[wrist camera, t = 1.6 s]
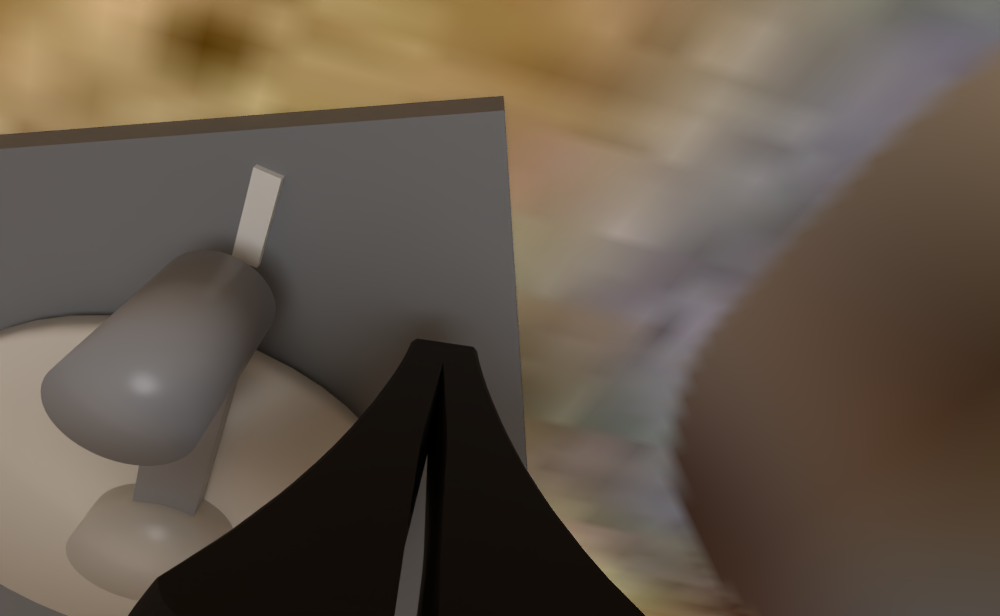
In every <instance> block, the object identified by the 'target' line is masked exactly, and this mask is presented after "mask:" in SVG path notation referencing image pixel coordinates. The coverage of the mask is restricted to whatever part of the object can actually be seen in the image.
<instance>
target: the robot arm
mask: <svg viewBox="0 0 1000 616" xmlns="http://www.w3.org/2000/svg"><path fill="white" fill-rule="evenodd" d="M426 458H427V476H426V503H425V530H424V554H423V567H422V577H421V585H420V593H419V601H418V609H417V616H645V615H644V614H643V613H642V612H641V611H640V610H639V609H638V608H637V607H636V606H635V605H634V604H633V603H632V602H631V601H630V600H629V599H628V598H627V597H626V596H625V595H624V594H623V593H622V592H621V591H620V590H619V589H618V588H617V587H616V586H615V585H614V584H613V583H612V582H611V581H610V580H609V579H608V577H607V576H606V575H605V574H604V573H603V572H602V571H601V569H600V568H599V567H598V566H597V565H596V564H595V563H594V561H593V560H592V559H591V558H590V557H589V556H588V554H587V553H586V552H585V551H584V550H583V548H582V547H581V546H580V545H579V543H578V542H577V541H576V539H575V538H574V537H573V535H572V534H571V533H570V532H569V530H568V529H567V528H566V526H565V525H564V524H563V523H562V521H561V520H560V519H559V517H558V516H557V515H556V514H555V512H554V511H553V509H552V508H551V507H550V505H549V504H548V502H547V501H546V499H545V498H544V496H543V495H542V493H541V492H540V490H539V489H538V487H537V486H536V484H535V482H534V481H533V479H532V478H531V476H530V474H529V473H528V471H527V470H526V468H525V466H524V464H523V463H522V461H521V459H520V457H519V455H518V454H517V452H516V450H515V448H514V446H513V444H512V442H511V440H510V438H509V436H508V434H507V432H506V430H505V428H504V426H503V424H502V422H501V419H500V417H499V415H498V412H497V410H496V408H495V405H494V403H493V401H492V398H491V396H490V393H489V390H488V388H487V385H486V382H485V379H484V376H483V373H482V370H481V366H480V362H479V358H478V353H477V351H476V350H475V348H474V347H471V346H465V345H458V344H451V343H444V342H438V341H431V340H424V339H415V340H414V341H412V342H411V344H410V346H409V349H408V351H407V352H406V354H405V356H404V358H403V360H402V361H401V363H400V365H399V366H398V368H397V369H396V371H395V372H394V374H393V375H392V377H391V378H390V380H389V381H388V382H387V384H386V385H385V386H384V388H383V389H382V391H381V392H380V393H379V395H378V396H377V397H376V399H375V400H374V401H373V402H372V404H371V405H370V406H369V407H368V408H367V409H366V411H365V412H364V413H363V414H362V415H361V416H360V418H359V419H358V420H357V421H356V422H355V423H354V424H353V426H352V427H351V428H350V429H349V430H348V431H347V432H346V433H345V434H344V435H343V436H342V437H341V438H340V439H339V441H338V442H337V443H336V444H335V445H334V446H333V447H332V448H330V449H329V450H328V451H327V452H326V453H325V454H324V455H323V456H322V457H321V458H320V459H319V460H318V461H317V462H316V463H315V464H314V465H312V466H311V467H310V468H309V469H308V470H307V471H306V472H304V473H303V474H302V475H301V476H300V477H299V478H298V479H296V480H295V481H294V482H293V483H292V484H291V485H289V486H288V487H287V488H286V489H285V490H283V491H282V492H281V493H280V494H278V495H277V496H276V497H275V498H273V499H272V500H271V501H269V502H268V503H267V504H265V505H264V506H263V507H261V508H260V509H258V510H257V511H256V512H254V513H253V514H252V515H250V516H249V517H248V518H246V519H245V520H244V521H242V522H241V523H240V524H238V525H237V526H236V527H234V528H233V529H231V530H230V531H229V532H227V533H226V534H224V535H223V536H221V537H220V538H218V539H217V540H215V541H214V542H212V543H211V544H209V545H207V546H206V547H204V548H203V549H201V550H200V551H198V552H196V553H195V554H193V555H192V556H190V557H189V558H187V559H186V560H184V561H182V562H181V563H179V564H178V565H176V566H175V567H173V568H171V569H170V570H168V571H167V572H165V573H163V574H162V575H160V576H159V577H157V578H156V579H155V580H154V582H153V583H152V584H151V585H150V587H149V588H148V589H147V590H146V592H145V593H144V594H143V596H142V597H141V598H140V599H139V601H138V602H137V603H136V605H135V606H134V607H133V609H132V610H131V612H130V613H129V615H128V616H395V609H396V602H397V595H398V589H399V582H400V575H401V568H402V562H403V555H404V548H405V544H406V540H407V536H408V532H409V528H410V523H411V519H412V515H413V511H414V507H415V503H416V499H417V495H418V491H419V487H420V483H421V478H422V474H423V470H424V466H425V462H426Z"/></svg>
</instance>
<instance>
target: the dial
mask: <svg viewBox="0 0 1000 616" xmlns="http://www.w3.org/2000/svg"><path fill="white" fill-rule="evenodd" d="M275 315H276V304H275V299H274V295H273V293H272V291H271V289H270V287H269V285H268V284H267V282H266V281H265V280H264V278H263V277H262V276H261V275H260V274H259V273H258V272H257V271H256V270H255V269H254V268H252V267H251V266H250V265H248V264H247V263H245V262H244V261H242V260H240V259H238V258H236V257H234V256H232V255H229V254H226V253H223V252H218V251H212V250H195V251H190V252H186V253H184V254H181V255H179V256H178V257H176V258H175V259H173V260H172V261H171V262H170V263H169V264H168V265H167V266H165V267H164V268H163V269H162V270H161V271H160V272H159V273H158V274H157V275H155V276H154V277H153V278H152V279H151V280H150V281H149V282H148V283H147V284H145V285H144V286H143V287H142V288H141V289H140V290H139V291H138V292H136V293H135V294H134V295H133V296H132V297H131V298H130V299H129V300H128V301H126V302H125V303H124V304H123V305H122V306H121V307H120V308H119V309H118V310H116V311H115V312H114V313H113V314H112V315H84V316H65V317H57V318H49V319H41V320H35V321H31V322H28V323H24V324H20V325H16V326H12V327H9V328H5V329H3V330H1V331H0V584H1V585H3V586H5V587H6V588H8V589H10V590H12V591H14V592H16V593H18V594H20V595H22V596H24V597H26V598H28V599H30V600H32V601H34V602H36V603H38V604H41V605H43V606H45V607H48V608H50V609H52V610H55V611H57V612H59V613H62V614H65V615H68V616H128V615H129V613H130V612H131V610H132V609H133V607H134V606H135V605H136V603H137V602H138V601H139V599H140V598H141V597H142V596H143V594H144V593H145V592H146V590H147V589H148V588H149V587H150V585H151V584H152V583H153V582H154V580H155V579H156V578H157V577H159V576H160V575H162V574H163V573H165V572H167V571H168V570H170V569H171V568H173V567H175V566H176V565H178V564H179V563H181V562H182V561H184V560H186V559H187V558H189V557H190V556H192V555H193V554H195V553H196V552H198V551H200V550H201V549H203V548H204V547H206V546H207V545H209V544H211V543H212V542H214V541H215V540H217V539H218V538H220V537H221V536H223V535H224V534H226V533H227V532H229V531H230V530H231V529H233V528H234V527H236V526H237V525H238V524H240V523H241V522H242V521H244V520H245V519H246V518H248V517H249V516H250V515H252V514H253V513H254V512H256V511H257V510H258V509H260V508H261V507H263V506H264V505H265V504H267V503H268V502H269V501H271V500H272V499H273V498H275V497H276V496H277V495H278V494H280V493H281V492H282V491H283V490H285V489H286V488H287V487H288V486H289V485H291V484H292V483H293V482H294V481H295V480H296V479H298V478H299V477H300V476H301V475H302V474H303V473H304V472H306V471H307V470H308V469H309V468H310V467H311V466H312V465H314V464H315V463H316V462H317V461H318V460H319V459H320V458H321V457H322V456H323V455H324V454H325V453H326V452H327V451H328V450H329V449H330V448H332V447H333V446H334V445H335V444H336V443H337V442H338V441H339V439H340V438H341V437H342V436H343V435H344V434H345V433H346V432H347V431H348V430H349V429H350V428H351V427H352V426H353V424H354V423H355V422H356V421H357V420H358V419H359V418H358V417H357V416H356V415H355V414H354V413H353V412H352V411H351V410H350V409H349V408H348V407H347V406H345V405H344V404H343V403H342V402H340V401H339V400H338V399H337V398H335V397H334V396H333V395H332V394H330V393H329V392H328V391H326V390H325V389H324V388H323V387H321V386H320V385H318V384H317V383H315V382H314V381H312V380H310V379H309V378H307V377H306V376H304V375H303V374H301V373H299V372H298V371H296V370H295V369H293V368H291V367H289V366H287V365H285V364H284V363H282V362H280V361H278V360H276V359H274V358H272V357H270V356H268V355H266V354H264V353H262V352H260V351H257V350H256V349H257V348H258V346H259V345H260V343H261V342H262V340H263V338H264V337H265V335H266V334H267V332H268V330H269V329H270V327H271V326H272V324H273V321H274V319H275Z"/></svg>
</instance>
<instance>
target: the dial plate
mask: <svg viewBox="0 0 1000 616" xmlns="http://www.w3.org/2000/svg"><path fill="white" fill-rule="evenodd" d="M195 250H212V251H218V252H223V253H226V254H229V255H232V256H234V257H236V258H238V259H240V260H242V261H244V262H245V263H247V264H248V265H250V266H251V267H252V268H254V269H255V270H256V271H257V272H258V273H259V274H260V275H261V276H262V277H263V278H264V280H265V281H266V282H267V284H268V285H269V287H270V289H271V291H272V293H273V295H274V299H275V304H276V315H275V319H274V321H273V324H272V326H271V327H270V329H269V330H268V332H267V334H266V335H265V337H264V338H263V340H262V342H261V343H260V345H259V346H258V348H257V349H256V350H257V351H260V352H262V353H264V354H266V355H268V356H270V357H272V358H274V359H276V360H278V361H280V362H282V363H284V364H285V365H287V366H289V367H291V368H293V369H295V370H296V371H298V372H299V373H301V374H303V375H304V376H306V377H307V378H309V379H310V380H312V381H314V382H315V383H317V384H318V385H320V386H321V387H323V388H324V389H325V390H326V391H328V392H329V393H330V394H332V395H333V396H334V397H335V398H337V399H338V400H339V401H340V402H342V403H343V404H344V405H345V406H347V407H348V408H349V409H350V410H351V411H352V412H353V413H354V414H355V415H356V416H357V417H358V418H360V416H361V415H362V414H363V413H364V412H365V411H366V409H367V408H368V407H369V406H370V405H371V404H372V402H373V401H374V400H375V399H376V397H377V396H378V395H379V393H380V392H381V391H382V389H383V388H384V386H385V385H386V384H387V382H388V381H389V380H390V378H391V377H392V375H393V374H394V372H395V371H396V369H397V368H398V366H399V365H400V363H401V361H402V360H403V358H404V356H405V354H406V352H407V351H408V349H409V346H410V344H411V342H412V341H414V340H415V339H424V340H431V341H438V342H444V343H451V344H458V345H465V346H471V347H474V348H475V350H476V351H477V353H478V358H479V362H480V366H481V370H482V373H483V376H484V379H485V382H486V385H487V388H488V390H489V393H490V396H491V398H492V401H493V403H494V405H495V408H496V410H497V412H498V415H499V417H500V419H501V422H502V424H503V426H504V428H505V430H506V432H507V434H508V436H509V438H510V440H511V442H512V444H513V446H514V448H515V450H516V452H517V454H518V455H519V457H520V459H521V461H522V463H523V464H524V466H525V468H526V470H527V459H526V443H525V427H524V411H523V395H522V379H521V363H520V348H519V332H518V316H517V300H516V284H515V268H514V252H513V237H512V221H511V205H510V189H509V173H508V157H507V141H506V126H505V110H504V99H503V96H499V97H486V98H473V99H460V100H447V101H434V102H421V103H408V104H395V105H382V106H369V107H356V108H343V109H330V110H317V111H304V112H291V113H278V114H265V115H252V116H239V117H226V118H213V119H200V120H188V121H175V122H162V123H149V124H136V125H123V126H110V127H97V128H84V129H71V130H58V131H45V132H32V133H19V134H6V135H0V331H1V330H3V329H5V328H9V327H12V326H16V325H20V324H24V323H28V322H31V321H35V320H41V319H49V318H57V317H65V316H84V315H112V314H113V313H114V312H115V311H116V310H118V309H119V308H120V307H121V306H122V305H123V304H124V303H125V302H126V301H128V300H129V299H130V298H131V297H132V296H133V295H134V294H135V293H136V292H138V291H139V290H140V289H141V288H142V287H143V286H144V285H145V284H147V283H148V282H149V281H150V280H151V279H152V278H153V277H154V276H155V275H157V274H158V273H159V272H160V271H161V270H162V269H163V268H164V267H165V266H167V265H168V264H169V263H170V262H171V261H172V260H173V259H175V258H176V257H178V256H179V255H181V254H184V253H186V252H190V251H195ZM426 476H427V458H426V462H425V466H424V470H423V474H422V478H421V483H420V487H419V491H418V495H417V499H416V503H415V507H414V511H413V515H412V519H411V523H410V528H409V532H408V536H407V540H406V544H405V548H404V555H403V562H402V568H401V575H400V582H399V589H398V595H397V602H396V609H395V616H417V609H418V601H419V593H420V585H421V577H422V567H423V554H424V530H425V503H426ZM0 616H68V615H65V614H62V613H59V612H57V611H55V610H52V609H50V608H48V607H45V606H43V605H41V604H38V603H36V602H34V601H32V600H30V599H28V598H26V597H24V596H22V595H20V594H18V593H16V592H14V591H12V590H10V589H8V588H6V587H5V586H3V585H1V584H0Z"/></svg>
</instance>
